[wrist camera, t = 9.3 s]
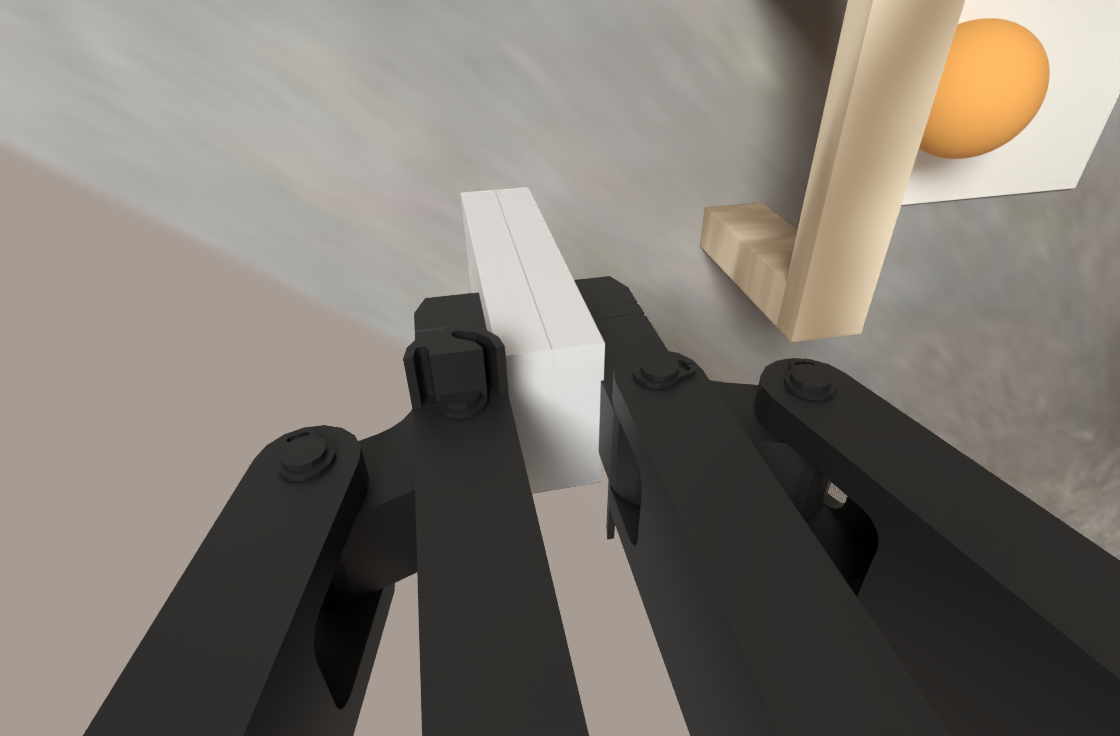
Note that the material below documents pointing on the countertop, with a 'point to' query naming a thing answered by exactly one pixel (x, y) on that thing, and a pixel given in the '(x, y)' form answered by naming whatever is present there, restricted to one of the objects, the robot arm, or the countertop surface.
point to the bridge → (844, 175)
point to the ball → (986, 89)
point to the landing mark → (1064, 117)
